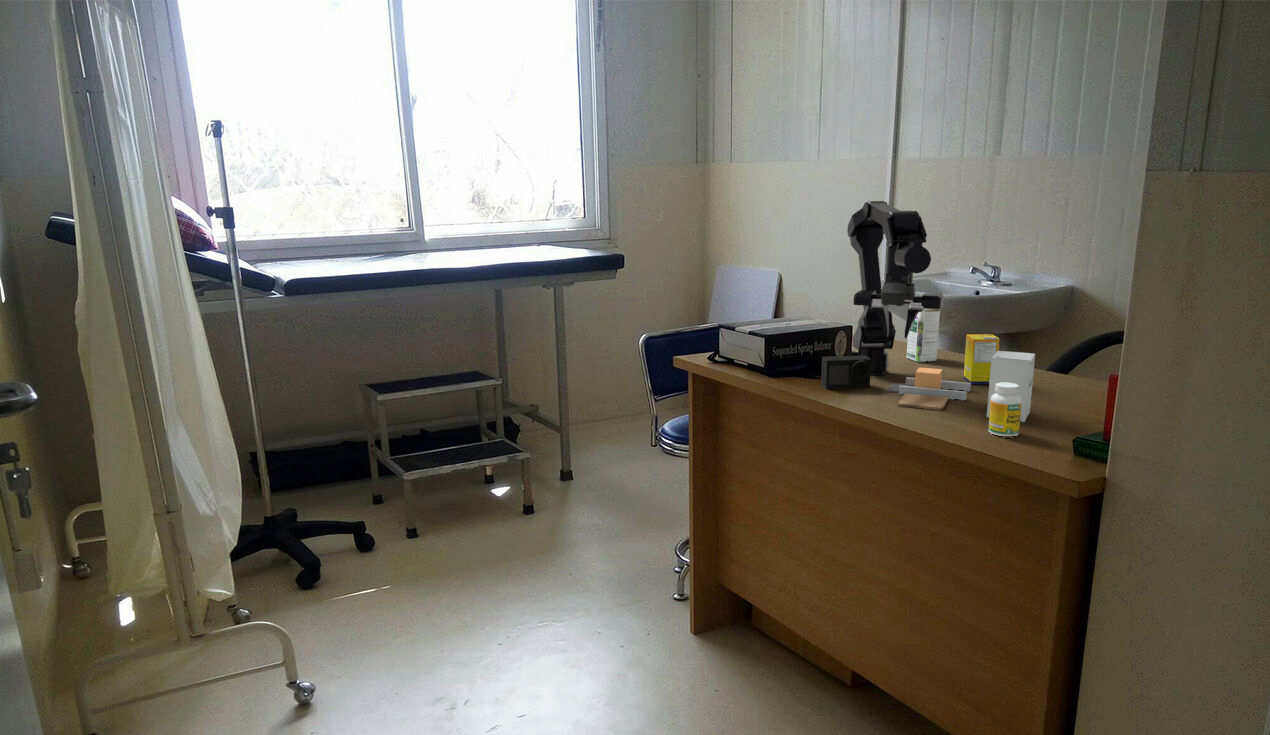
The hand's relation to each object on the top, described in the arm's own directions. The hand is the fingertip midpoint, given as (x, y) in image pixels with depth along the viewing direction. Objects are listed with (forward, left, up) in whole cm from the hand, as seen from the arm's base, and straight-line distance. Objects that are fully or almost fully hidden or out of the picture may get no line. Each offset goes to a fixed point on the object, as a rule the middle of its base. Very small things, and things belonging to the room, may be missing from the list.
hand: (896, 337), depth 187 cm
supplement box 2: (+25, -13, -12) cm, 31 cm away
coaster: (+8, -10, -12) cm, 18 cm away
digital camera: (-10, -3, -12) cm, 16 cm away
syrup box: (+1, +33, -12) cm, 35 cm away
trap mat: (+1, 0, -12) cm, 12 cm away
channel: (+9, 0, -12) cm, 15 cm away
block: (+7, 0, -12) cm, 14 cm away
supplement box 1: (+17, +14, -12) cm, 25 cm away
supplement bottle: (+25, -26, -12) cm, 38 cm away
